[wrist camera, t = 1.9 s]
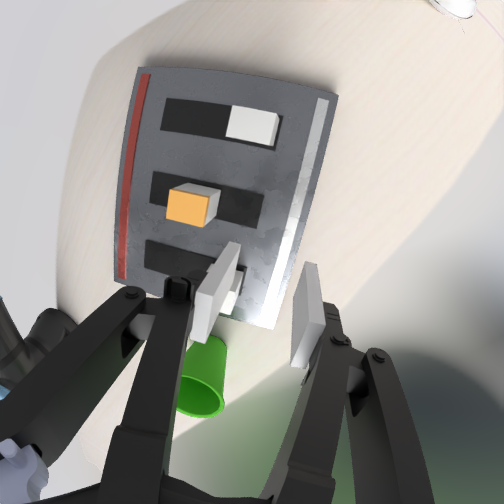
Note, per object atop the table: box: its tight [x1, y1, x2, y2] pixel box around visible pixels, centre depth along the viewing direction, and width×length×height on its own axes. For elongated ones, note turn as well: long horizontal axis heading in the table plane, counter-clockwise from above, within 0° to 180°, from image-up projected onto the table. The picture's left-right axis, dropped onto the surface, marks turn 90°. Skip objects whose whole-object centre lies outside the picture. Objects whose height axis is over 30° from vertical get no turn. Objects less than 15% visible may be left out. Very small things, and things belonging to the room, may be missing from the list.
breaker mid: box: [166, 183, 221, 228], centre depth 29 cm, size 4×3×5 cm
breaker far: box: [206, 264, 244, 315], centre depth 32 cm, size 4×3×5 cm
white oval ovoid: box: [429, 0, 477, 34], centre depth 16 cm, size 10×7×7 cm
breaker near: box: [226, 105, 280, 146], centre depth 25 cm, size 4×3×5 cm
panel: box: [114, 67, 339, 329], centre depth 33 cm, size 24×30×2 cm
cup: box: [176, 335, 227, 418], centre depth 37 cm, size 9×9×11 cm
